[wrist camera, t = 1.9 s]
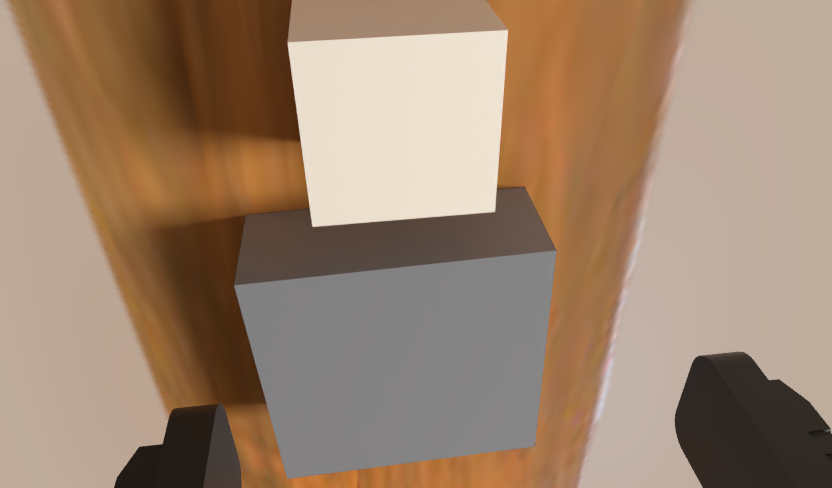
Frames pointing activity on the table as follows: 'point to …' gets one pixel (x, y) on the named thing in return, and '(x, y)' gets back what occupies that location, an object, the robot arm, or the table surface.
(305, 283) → the slate block
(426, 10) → the cream block
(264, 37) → the table surface
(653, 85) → the table surface
